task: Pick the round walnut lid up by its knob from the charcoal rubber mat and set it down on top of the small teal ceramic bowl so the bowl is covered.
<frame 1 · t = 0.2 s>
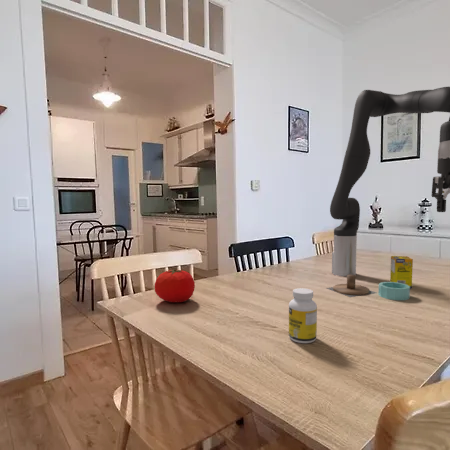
mat: (350, 291, 117), on the table
bowl: (393, 297, 110), on the table
tomato: (175, 301, 109), on the table
pill bottle: (302, 339, 79), on the table
lid: (351, 290, 117), resting on mat
supplement box: (400, 286, 124), on the table
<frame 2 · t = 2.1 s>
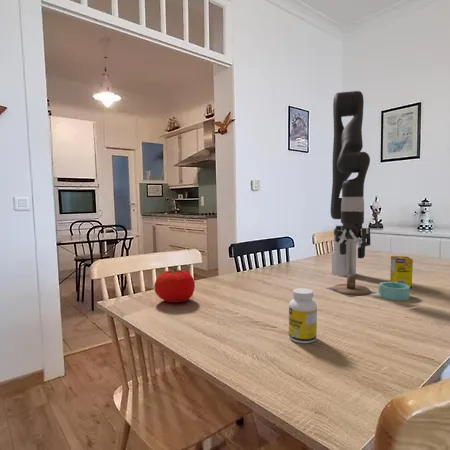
hand: (351, 256, 116), 13 cm above the table, fingers open, 8 cm apart
nothing on the table moved.
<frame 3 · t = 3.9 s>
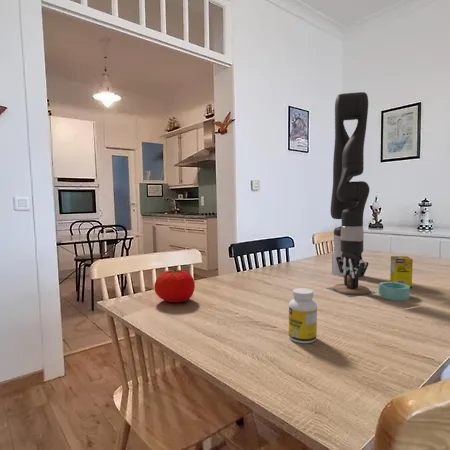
hand: (351, 286, 117), 2 cm above the table, fingers closed on lid, 2 cm apart
lid: (350, 290, 117), resting on mat, touching gripper
everything else where it was.
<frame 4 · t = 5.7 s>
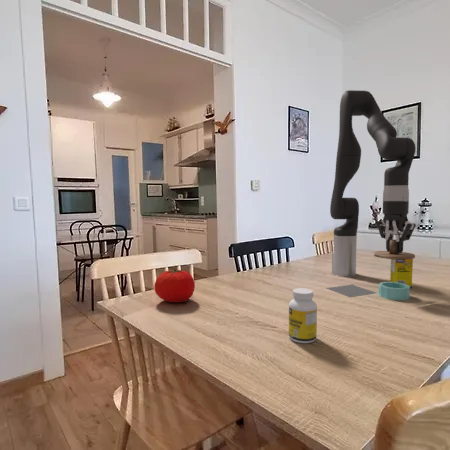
hand: (394, 252, 109), 15 cm above the table, fingers closed on lid, 2 cm apart
lid: (394, 256, 109), point 14 cm above the table, touching gripper
everything else where it was.
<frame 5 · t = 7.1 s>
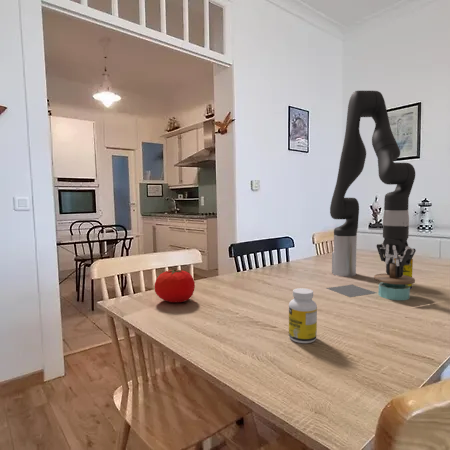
hand: (394, 275, 109), 7 cm above the table, fingers closed on lid, 2 cm apart
lid: (394, 279, 110), point 6 cm above the table, touching gripper
everything else where it was.
when the fingers open (7 cm above the table, at t = 7.9 s): lid drops 1 cm, resting on bowl.
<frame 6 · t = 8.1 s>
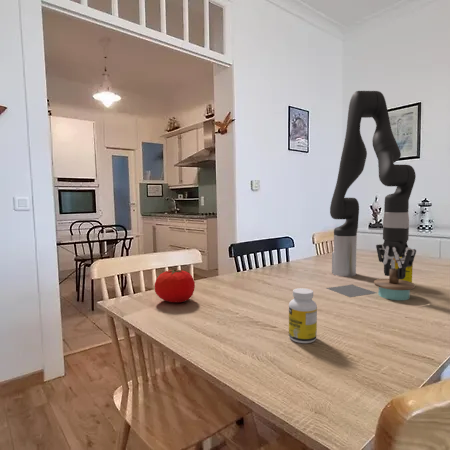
hand: (394, 277, 110), 7 cm above the table, fingers open, 4 cm apart
lid: (393, 285, 110), point 4 cm above the table, touching bowl
everything else where it was.
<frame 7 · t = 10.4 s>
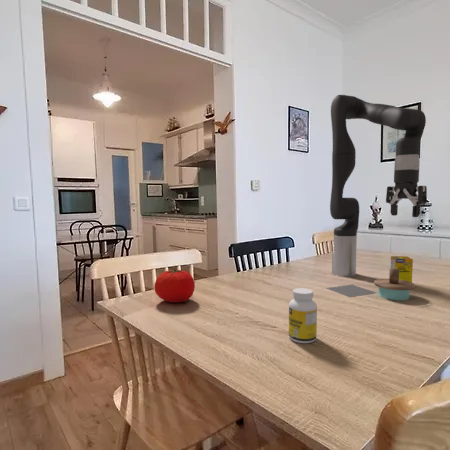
hand: (404, 216, 115), 27 cm above the table, fingers open, 8 cm apart
nothing on the table moved.
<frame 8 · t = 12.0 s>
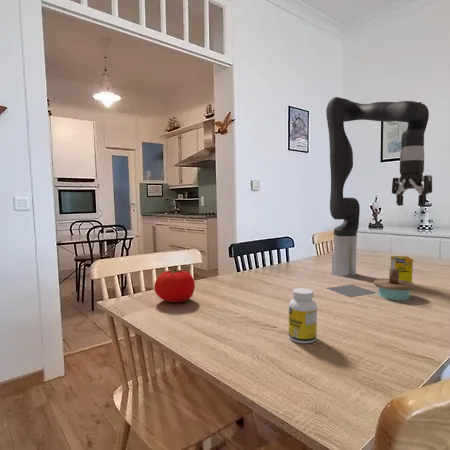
hand: (410, 205, 118), 30 cm above the table, fingers open, 8 cm apart
nothing on the table moved.
at the end: lid 0.1 cm off-centre on the bowl, point 4.0 cm above the bowl's base; lid tilted 0°; the gripper is holding nothing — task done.
